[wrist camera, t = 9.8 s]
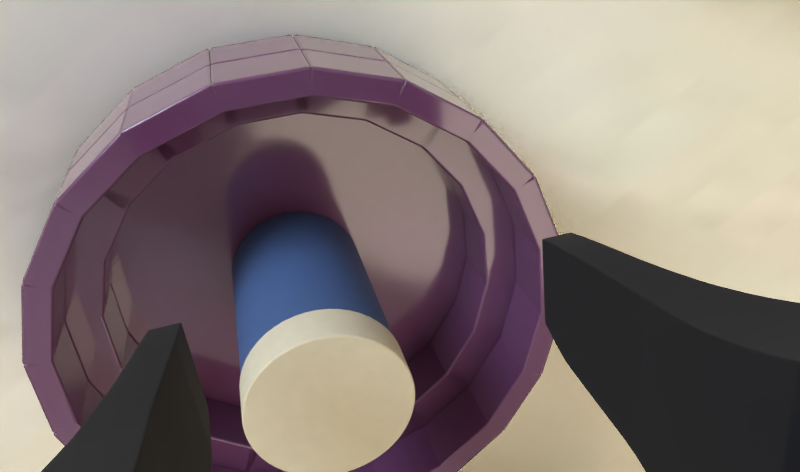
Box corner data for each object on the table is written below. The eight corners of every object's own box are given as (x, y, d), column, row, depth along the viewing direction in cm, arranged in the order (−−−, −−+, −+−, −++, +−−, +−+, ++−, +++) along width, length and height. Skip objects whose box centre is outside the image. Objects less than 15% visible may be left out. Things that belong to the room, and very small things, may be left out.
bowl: (493, -5, 22) (559, 22, 18) (514, 380, 28) (565, 462, 24) (-24, 82, 19) (-80, 135, 15) (131, 479, 26) (120, 586, 22)
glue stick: (346, 195, 23) (400, 314, 17) (371, 304, 25) (427, 448, 19) (214, 229, 22) (219, 365, 16) (249, 338, 24) (266, 497, 18)
